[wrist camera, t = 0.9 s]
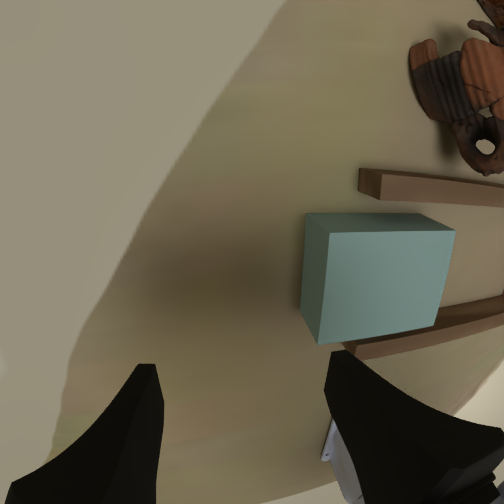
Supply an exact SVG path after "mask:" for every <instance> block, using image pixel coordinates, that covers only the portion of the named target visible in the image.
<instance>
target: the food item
mask: <svg viewBox="0 0 504 504" xmlns="http://www.w3.org/2000/svg"><path fill="white" fill-rule="evenodd" d="M478 1H479V2H480V3H481V6H483V8H484V10H485V12H486V13H487V14H488V16H489V17H490V18H491V19H492V20H493V22H494V23H495V25H496V26H497V27H498V28H501V26H504V0H478Z"/></svg>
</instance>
